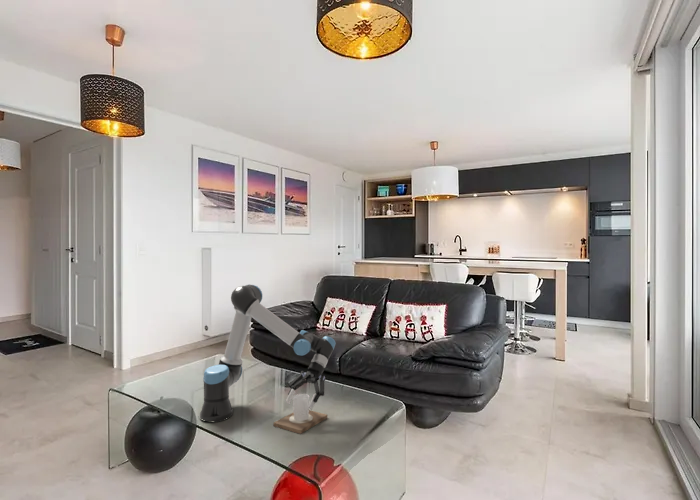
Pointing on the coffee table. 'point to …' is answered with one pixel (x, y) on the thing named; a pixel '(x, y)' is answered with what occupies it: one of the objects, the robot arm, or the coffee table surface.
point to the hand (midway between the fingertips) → (298, 405)
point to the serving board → (300, 422)
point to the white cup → (301, 407)
